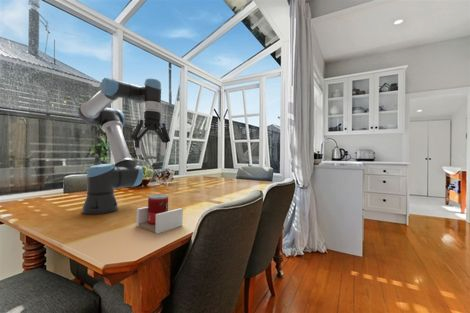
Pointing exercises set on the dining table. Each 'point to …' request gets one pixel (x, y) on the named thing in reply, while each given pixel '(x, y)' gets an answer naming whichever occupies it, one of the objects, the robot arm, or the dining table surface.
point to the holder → (159, 220)
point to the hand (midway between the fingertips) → (151, 155)
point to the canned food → (156, 206)
